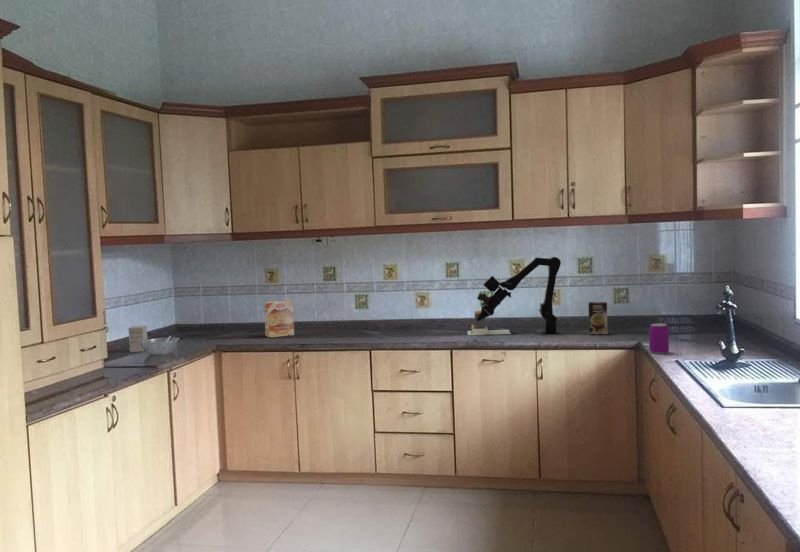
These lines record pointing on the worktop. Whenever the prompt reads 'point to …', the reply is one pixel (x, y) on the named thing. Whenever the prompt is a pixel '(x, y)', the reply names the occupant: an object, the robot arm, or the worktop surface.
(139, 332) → the supplement box
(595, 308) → the coffee box
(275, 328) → the coffeecake box
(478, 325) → the plug
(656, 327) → the beverage can
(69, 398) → the worktop surface
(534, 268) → the robot arm
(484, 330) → the board
